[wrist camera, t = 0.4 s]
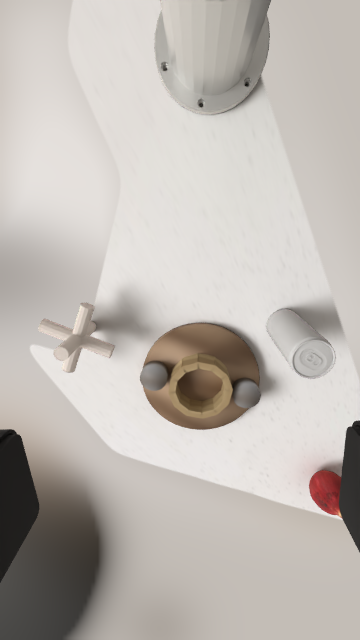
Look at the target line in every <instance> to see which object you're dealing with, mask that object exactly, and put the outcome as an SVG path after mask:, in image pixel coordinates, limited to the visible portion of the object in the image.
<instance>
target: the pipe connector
mask: <svg viewBox="0 0 360 640" xmlns="http://www.w3.org/2000/svg"><path fill="white" fill-rule="evenodd" d="M93 311H94V306H93V305H91V304H88V303H81V305H80V308H79V311H78V315H77V318H76V322H75V325H74V328H73V329H70V328H68V327H65V326H63V325H60V324H57V323H55V322H52V321H50V320H47V319H43V320H42V321H41V323H40V325H39V329H38V330H39V331H40V332H43V333H45V334H48V335H50V336H53V337H56V338H58V339H61V340H64V342H63V343H61V344H60V345H59V346H58V347H57V348H56V349H55V350H54V356H55V358H56V359H58V360H60V361H64V362H63V365H62V370H63V371H65V372H68V373H71V372H74V371H75V368H76V365H77V361H78V358H79V355H80V352H81V349H82V348H84V349H87V350H90V351H92V352H95V353H97V354H100V355H103V356H105V357H108V358H110V357H111V355H112V353H113V350H114V347H115V346H114V345H112V344H109V343H106V342H104V341H101V340H99V339H96V338H94V337H91V336H90V335H91V334H92V333H93V332H94V331H95V330H96V324H95V323H94V322H93V321H90V320H91V317H92V314H93Z"/></svg>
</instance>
